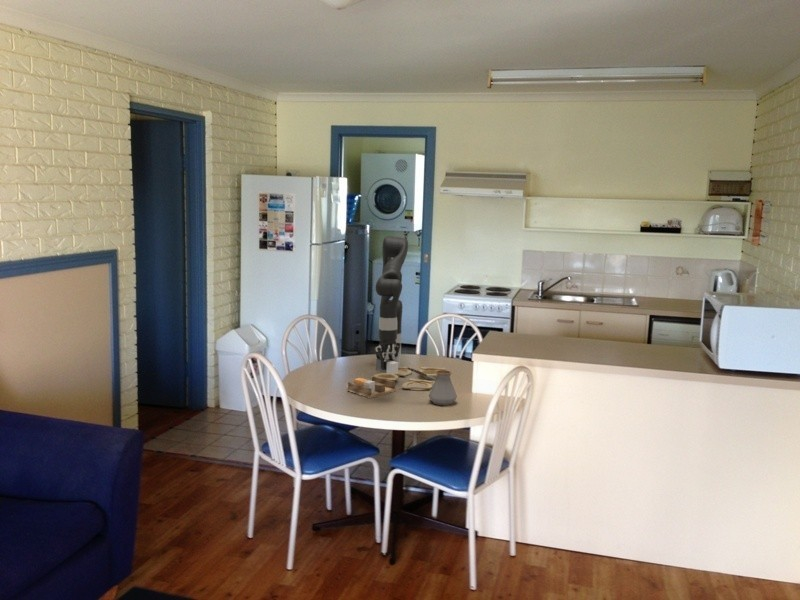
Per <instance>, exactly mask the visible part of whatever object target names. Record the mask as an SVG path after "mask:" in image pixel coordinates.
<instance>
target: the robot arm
mask: <svg viewBox="0 0 800 600" xmlns="http://www.w3.org/2000/svg"><path fill="white" fill-rule="evenodd" d="M408 248H409V241H408V240H407V238H405V237H399V236H390V235H389V236H388V235H387V236H385V237H384V239H383V241H382V272H381V275H380V277H379V278H378V280H377V282H376V283H375V292H376V294H377V295H378V296H380V304H379V318H378V319H379V320H378V340H379V344H378V346H374V348H373V349H374V350H373V351H374V353H375V356H376V359H377V360H381V369H382V370H386V359H388V360H391V361H395V362H398V367H401V363H402V362H401V359H402V318H403V317H402V316H403V302H402V301H401V300H400V296H401V294H402V290H403V284H402V280H403V275H402V274H403V273H402V271H401V270H402V268H403V265H404V262H405V261H406V258H407V255H408V251H409V250H408Z"/></svg>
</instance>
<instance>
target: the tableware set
mask: <svg viewBox="0 0 800 600" xmlns="http://www.w3.org/2000/svg"><path fill="white" fill-rule="evenodd" d="M407 367H409V368H411V369H413V367H412V366H400V367H398V373H397V374H393V375H391V374H388V373H385V372H382V373H376V374H374V375H372V376H375V377H379V378H382V379H386V380H390V381H394V382H396V381H397V380H399V377H407V376H410V375H411V374H412V373H413V371H411V370H409V369H408V370H406V369H407ZM439 370H446V371H447V368H446V367H428V366H421V367H420V369H419V370H418V371H420V372H422V373H424V374H427V375H429V376H431V377H434V378H437V374H436V371H439ZM406 371H407V372H406ZM372 376H369V379H372ZM421 376H422V378H423V377H424V378H423V379H418V378H409V379H408V381H406V382H404V383H402V387H401V388H402V389H406V390H409V389H410V390H409V391H426V390H431V389H432V387H433V384H434V381H430V380H432V379H431V378H429V377H426V376H423V375H421ZM425 378H427V379H425ZM413 383H420V384H425V385H426V386H427V387H412V386H408V385H409V384H413Z"/></svg>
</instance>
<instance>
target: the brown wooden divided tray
mask: <svg viewBox="0 0 800 600" xmlns="http://www.w3.org/2000/svg"><path fill="white" fill-rule="evenodd" d="M371 381H374V382H375V392H373V393H371V388H368V387H364V386H361V385H357V384H354V382H351V381H350V382H347V383H348V384H347V386H348V387H347V390H346V391H347V392H348V391H350V392H349V393H351V392H353V393H352V394H354V393H356V394H355V395H358V394H360V395H359V396H361V395H363V396H362V397H364V396H366V397H365V398H368V397H369V398H368V399H373V397H374V398H377V397H380V395H381V396H383V394H384V395H387V393H388V394H391V393H394V391H395V392H396V391H397V389H396V381H390V380H386V379H382V378H379V377H375V376H374V375H372V378H371ZM390 392H391V393H390ZM376 396H377V397H376Z"/></svg>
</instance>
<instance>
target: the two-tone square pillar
mask: <svg viewBox="0 0 800 600" xmlns="http://www.w3.org/2000/svg"><path fill="white" fill-rule="evenodd" d="M375 370H377V371H379V372H382V373H383V372H385V373H388V374H391V375H393V374H397V373H398V362H395V361H391V360H388V359H386V370H382V369H381V360H377V358H376V359H375Z"/></svg>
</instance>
